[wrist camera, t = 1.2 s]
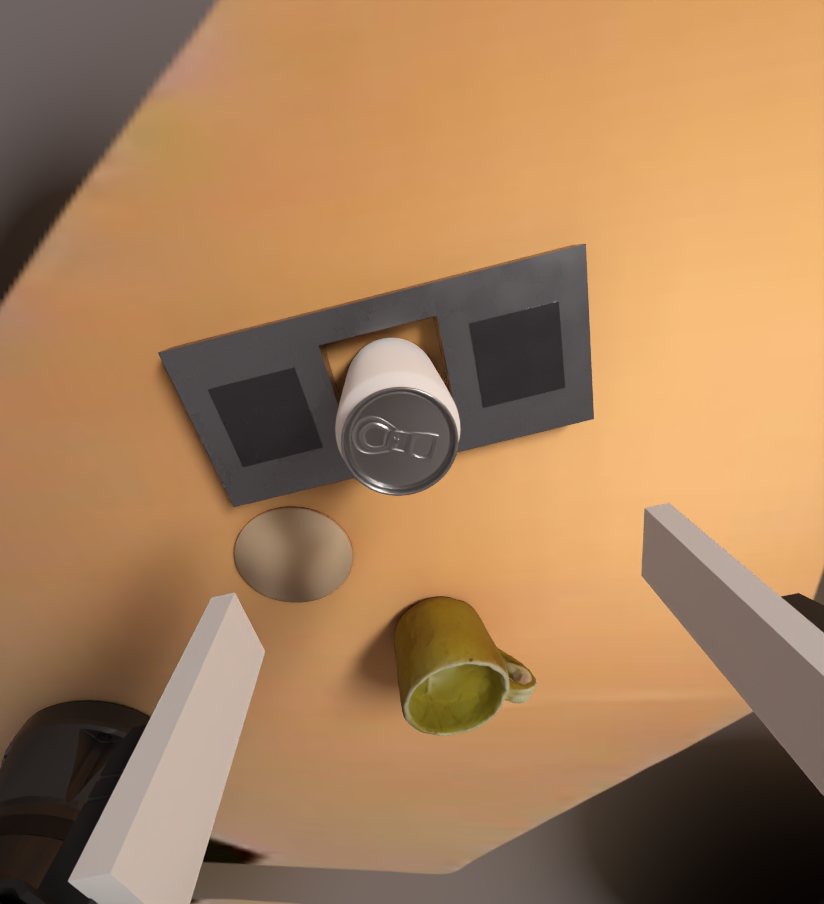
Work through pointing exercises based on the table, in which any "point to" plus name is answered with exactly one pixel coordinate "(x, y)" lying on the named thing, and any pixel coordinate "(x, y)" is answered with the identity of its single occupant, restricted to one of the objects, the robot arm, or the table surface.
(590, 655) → the table surface
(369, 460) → the can
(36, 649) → the table surface
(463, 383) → the panel
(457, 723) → the mug
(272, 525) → the coaster
